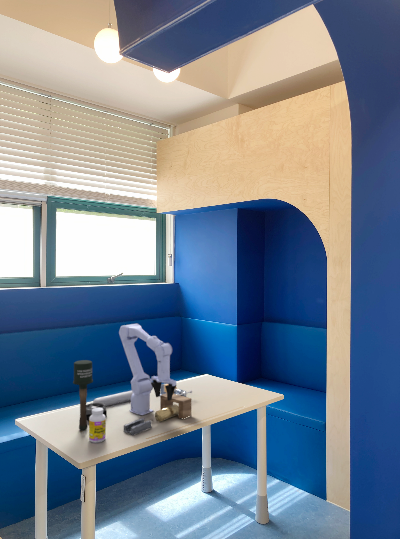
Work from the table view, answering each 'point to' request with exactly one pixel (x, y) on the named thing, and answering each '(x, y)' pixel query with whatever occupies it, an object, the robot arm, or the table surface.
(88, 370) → the stick grenade
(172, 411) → the brass cylinder
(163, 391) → the vise
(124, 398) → the tube
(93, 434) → the supplement bottle
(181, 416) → the wooden bridge block
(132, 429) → the v block
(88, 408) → the cpu cooler
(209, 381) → the table surface
